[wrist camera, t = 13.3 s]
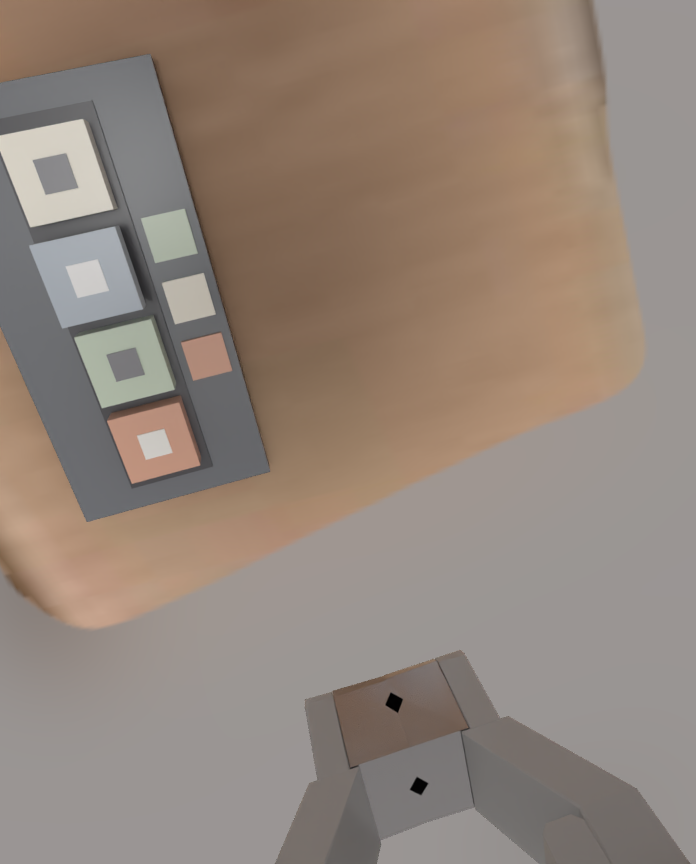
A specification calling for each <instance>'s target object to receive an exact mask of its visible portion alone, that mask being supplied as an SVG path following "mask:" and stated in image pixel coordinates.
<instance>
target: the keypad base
mask: <svg viewBox="0 0 696 864" xmlns="http://www.w3.org/2000/svg"><path fill="white" fill-rule="evenodd" d="M79 119H84V120H86V121H88V122H89V125H90V128H91V131H92V134H93V137H94V140H95V143H96V146H97V149H98V151H99V154H100V157H101V160H102V163H103V166H104V169H105V172H106V175H107V178H108V181H109V184H110V187H111V190H112V193H113V196H114V199H115V202H116V205H117V208H118V209H115V210H110V211H106V212H101V213H97V214H92V215H88V216H83V217H78V218H74V219H69V220H65V221H60V222H56V223H51V224H47V225H42V226H37V227H30V226H29V223H28V220H27V218H26V215H25V213H24V210H23V208H22V205H21V203H20V200H19V198H18V195H17V193H16V190H15V188H14V185H13V183H12V180H11V178H10V175H9V173H8V170H7V167H6V165H5V162H4V160H3V157H2V155H1V152H0V327H1V329H2V332H3V334H4V336H5V338H6V341H7V343H8V345H9V347H10V350H11V352H12V354H13V356H14V359H15V361H16V363H17V365H18V368H19V370H20V372H21V374H22V377H23V379H24V381H25V384H26V386H27V388H28V390H29V393H30V395H31V397H32V399H33V402H34V404H35V406H36V408H37V411H38V413H39V415H40V417H41V420H42V422H43V424H44V426H45V429H46V431H47V433H48V435H49V438H50V440H51V442H52V444H53V447H54V449H55V451H56V453H57V456H58V458H59V460H60V462H61V465H62V467H63V469H64V471H65V474H66V476H67V478H68V480H69V483H70V485H71V487H72V489H73V492H74V494H75V496H76V499H77V501H78V503H79V505H80V508H81V510H82V512H83V514H84V517H85V519H86V521H87V522H89V521H92V520H96V519H100V518H103V517H107V516H111V515H114V514H118V513H122V512H125V511H129V510H132V509H136V508H140V507H143V506H147V505H151V504H154V503H158V502H162V501H165V500H169V499H172V498H176V497H180V496H183V495H187V494H191V493H194V492H198V491H202V490H205V489H209V488H212V487H216V486H220V485H223V484H227V483H231V482H234V481H238V480H242V479H245V478H249V477H252V476H256V475H260V474H263V473H267V472H270V468H269V463H268V460H267V456H266V453H265V449H264V446H263V442H262V439H261V435H260V432H259V428H258V425H257V421H256V418H255V414H254V411H253V407H252V404H251V400H250V397H249V394H248V390H247V387H246V383H245V380H244V376H243V373H242V369H241V366H240V362H239V359H238V355H237V352H236V348H235V345H234V341H233V338H232V334H231V331H230V327H229V324H228V320H227V317H226V313H225V310H224V306H223V303H222V299H221V296H220V293H219V289H218V286H217V282H216V279H215V275H214V272H213V268H212V265H211V261H210V258H209V254H208V251H207V247H206V244H205V240H204V237H203V233H202V230H201V226H200V223H199V219H198V216H197V212H196V209H195V205H194V202H193V198H192V195H191V192H190V188H189V185H188V181H187V178H186V174H185V171H184V167H183V164H182V160H181V157H180V153H179V150H178V146H177V143H176V139H175V136H174V132H173V129H172V125H171V122H170V118H169V115H168V111H167V108H166V104H165V101H164V97H163V94H162V91H161V87H160V84H159V80H158V77H157V73H156V70H155V66H154V63H153V59H152V57H151V55H150V54H147V55H142V56H137V57H132V58H126V59H121V60H116V61H111V62H106V63H100V64H95V65H90V66H85V67H80V68H74V69H69V70H64V71H59V72H54V73H49V74H43V75H38V76H33V77H28V78H23V79H17V80H12V81H7V82H2V83H0V135H5V134H10V133H15V132H20V131H25V130H30V129H35V128H40V127H45V126H50V125H55V124H60V123H64V122H69V121H74V120H79ZM118 225H119V227H120V230H121V233H122V235H123V238H124V241H125V244H126V247H127V250H128V253H129V256H130V259H131V262H132V265H133V268H134V271H135V274H136V277H137V280H138V283H139V286H140V289H141V292H142V294H143V297H144V300H145V303H146V306H145V307H144V309H142V310H138V311H134V312H130V313H125V314H121V315H117V316H113V317H109V318H104V319H100V320H96V321H92V322H88V323H84V324H79V325H75V326H71V327H67V328H63V329H62V327H61V325H60V322H59V320H58V317H57V315H56V312H55V310H54V307H53V305H52V302H51V300H50V297H49V295H48V292H47V290H46V287H45V285H44V282H43V280H42V277H41V275H40V272H39V270H38V267H37V265H36V262H35V260H34V257H33V255H32V252H31V250H30V248H29V245H33V244H38V243H42V242H47V241H51V240H56V239H60V238H65V237H69V236H74V235H78V234H83V233H87V232H92V231H96V230H101V229H105V228H110V227H114V226H118ZM150 315H154V318H155V321H156V324H157V327H158V330H159V333H160V336H161V339H162V342H163V345H164V348H165V351H166V354H167V357H168V360H169V363H170V366H171V369H172V372H173V375H174V378H175V380H176V387H175V390H172V391H168V392H164V393H160V394H156V395H152V396H148V397H144V398H140V399H137V400H133V401H129V402H125V403H121V404H117V405H113V406H109V407H105V408H102V407H101V405H100V402H99V400H98V397H97V395H96V392H95V390H94V387H93V385H92V382H91V380H90V377H89V374H88V372H87V369H86V367H85V364H84V362H83V359H82V357H81V354H80V352H79V349H78V347H77V344H76V342H75V339H74V337H75V336H76V335H77V334H78V333H79V332H84V331H88V330H92V329H96V328H100V327H104V326H109V325H113V324H117V323H121V322H125V321H129V320H134V319H138V318H142V317H146V316H150ZM179 395H181V398H182V401H183V404H184V407H185V410H186V413H187V416H188V419H189V422H190V425H191V428H192V431H193V434H194V437H195V440H196V443H197V446H198V449H199V452H200V455H201V464H200V466H196V467H193V468H189V469H185V470H181V471H178V472H174V473H170V474H167V475H163V476H159V477H156V478H152V479H148V480H144V481H141V482H137V483H133V484H132V483H131V480H130V478H129V475H128V473H127V470H126V468H125V465H124V463H123V460H122V458H121V455H120V453H119V450H118V448H117V445H116V443H115V440H114V438H113V435H112V433H111V430H110V427H109V425H108V422H107V420H108V418H109V416H110V414H111V413H113V412H117V411H121V410H125V409H129V408H133V407H137V406H140V405H144V404H148V403H152V402H156V401H160V400H164V399H168V398H172V397H176V396H179Z"/></svg>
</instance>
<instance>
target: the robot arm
mask: <svg viewBox="0 0 696 864" xmlns="http://www.w3.org/2000/svg"><path fill="white" fill-rule="evenodd" d="M305 711H306V716H307V722H308V728H309V734H310V739H311V746H312V751H313V757H314V763H315V769H316V774H317V781H314V782H311V783H309V785H308V787H307V790H306V792H305V795H304V797H303V799H302V801H301V804H300V806H299V808H298V811H297V813H296V816H295V818H294V820H293V823H292V825H291V827H290V830H289V832H288V834H287V837H286V839H285V841H284V844H283V846H282V848H281V851H280V853H279V855H278V858H277V860H276V863H275V864H377V860H378V856H379V851H380V847H381V841H380V840H383V839H385V838H388V837H391V836H393V835H396V834H398V833H401V832H403V831H406V830H409V829H411V828H414V827H416V826H419V825H421V824H424V823H427V822H429V821H433V820H436V819H439V818H442V817H445V816H448V815H452V814H455V813H458V812H461V811H464V810H467V809H471V808H474V807H475V809H476V810H477V811H478V812H479V813H480V814H481V815H482V816H483V817H485V818H486V819H487V820H488V821H489V822H491V823H492V824H493V825H494V826H495V827H497V828H498V829H499V830H500V831H501V832H502V833H504V834H505V835H506V836H507V837H508V838H509V839H511V840H512V841H513V842H514V843H515V844H517V845H518V846H519V847H520V848H521V849H522V850H524V851H525V852H526V853H527V854H528V855H530V856H531V857H532V858H533V859H534V860H535V861H537V862H538V863H539V864H690V862H689V861H688V860H687V859H686V857H685V855H684V854H683V853H682V851H681V850H680V848H679V847H678V846H677V844H676V843H675V842H674V840H673V839H672V837H671V836H670V835H669V833H668V832H667V830H666V829H665V827H664V826H663V825H662V823H661V822H660V820H659V819H658V818H657V816H656V815H655V813H654V812H653V811H652V809H651V808H650V806H649V805H648V804H647V802H646V801H645V799H644V798H643V797H642V795H641V794H640V792H639V791H638V790H637V788H635V787H633V786H631V785H630V784H628V783H626V782H624V781H622V780H621V779H619V778H617V777H615V776H614V775H612V774H610V773H608V772H606V771H605V770H603V769H601V768H599V767H598V766H596V765H594V764H592V763H590V762H589V761H587V760H585V759H583V758H582V757H580V756H578V755H576V754H574V753H573V752H571V751H569V750H568V749H566V748H564V747H562V746H560V745H559V744H557V743H555V742H553V741H551V740H550V739H548V738H546V737H544V736H543V735H541V734H539V733H537V732H536V731H534V730H532V729H530V728H529V727H527V726H525V725H523V724H521V723H519V722H518V721H516V720H514V719H513V718H511V717H509V716H507V717H504V718H500V717H499V715H498V713H497V711H496V710H495V708H494V706H493V704H492V702H491V700H490V699H489V697H488V695H487V693H486V692H485V690H484V688H483V686H482V684H481V682H480V681H479V679H478V677H477V675H476V673H475V671H474V670H473V668H472V666H471V664H470V662H469V661H468V659H467V657H466V655H465V653H463V652H462V651H461V650H459V651H456V652H453V653H449V654H446V655H443V656H440V657H438V658H435V659H432V660H428V661H426V662H422V663H419V664H417V665H413V666H411V667H407V668H404V669H402V670H398V671H395V672H392V673H390V674H386V675H384V676H382V677H379V678H375V679H372V680H368V681H365V682H361V683H358V684H355V685H351V686H348V687H344V688H341V689H337V690H334V691H333V693H332V692H330V693H326V694H323V695H319V696H316V697H312V698H309V699H305Z"/></svg>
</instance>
